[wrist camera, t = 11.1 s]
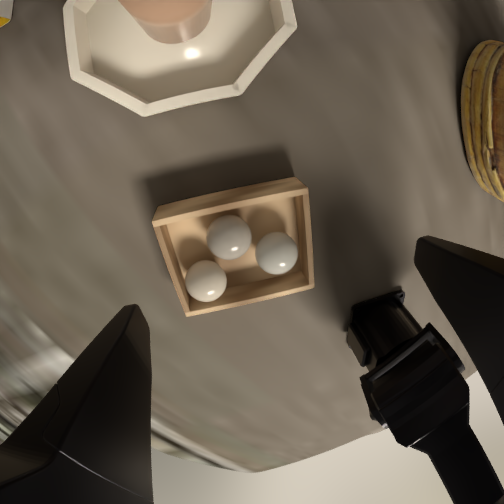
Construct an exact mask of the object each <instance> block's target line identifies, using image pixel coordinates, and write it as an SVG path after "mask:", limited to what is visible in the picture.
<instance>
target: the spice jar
mask: <svg viewBox="0 0 504 504" xmlns="http://www.w3.org/2000/svg"><path fill="white" fill-rule="evenodd" d="M118 1H119V2H120V3H121V4H122V5H123V7H124V8H125V9H126V10H127V11H128V12H129V13H130V15H131V16H132V17H133V18H134V19H135V20H136V22H137V23H138V24H139V25H140V26H141V27H142V29H143V30H144V31H145V32H146V33H147V35H148V36H149V37H151V38H152V39H154V40H155V41H158V42H161V43H165V44H177V43H182V42H186V41H188V40H191V39H193V38H194V37H196V36H197V35H199V34H200V33H201V32H202V31H203V30H204V29H205V28H206V26H207V24H208V22H209V20H210V17H211V8H212V0H118Z"/></svg>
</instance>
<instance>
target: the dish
mask: <svg viewBox="0 0 504 504" xmlns="http://www.w3.org/2000/svg"><path fill="white" fill-rule="evenodd" d="M63 16H64V29H65V39H66V48H67V56H68V63H69V70H70V76H71V78H72V80H74V81H76V82H78V83H80V84H82V85H84V86H86V87H88V88H90V89H92V90H94V91H96V92H98V93H100V94H102V95H104V96H105V97H107V98H109V99H111V100H113V101H115V102H117V103H119V104H121V105H123V106H124V107H126V108H128V109H130V110H132V111H134V112H135V113H137V114H139V115H141V116H143V117H144V116H145V117H147V116H151V115H155V114H159V113H162V112H166V111H170V110H174V109H178V108H182V107H186V106H190V105H195V104H199V103H204V102H208V101H213V100H218V99H224V98H229V97H235V96H239V95H241V94H242V93H243V92H244V91H245V89H246V88H247V87H248V86H249V84H250V83H251V82H252V80H253V79H254V78H255V77H256V75H257V74H258V73H259V72H260V70H261V69H262V68H263V67H264V66H265V64H266V63H267V62H268V61H269V60H270V58H271V57H272V56H273V55H274V54H275V52H276V51H277V50H278V49H279V48H280V47H281V46H282V44H283V43H284V42H285V41H286V40H287V39H288V38H289V36H290V35H291V34H292V33H293V32H294V31H295V30H296V29H297V28H296V27H297V23H296V18H295V13H294V8H293V4H292V0H212V8H211V17H210V20H209V22H208V24H207V26H206V28H205V29H204V30H203V31H202V32H201V33H200V34H199V35H197V36H196V37H194V38H193V39H191V40H188V41H186V42H182V43H177V44H165V43H161V42H158V41H155V40H154V39H152V38H151V37H149V36H148V35H147V33H146V32H145V31H144V30H143V29H142V27H141V26H140V25H139V24H138V23H137V22H136V20H135V19H134V18H133V17H132V16H131V15H130V13H129V12H128V11H127V10H126V9H125V8H124V7H123V5H122V4H121V3H120V2H119V1H118V0H67V2H66V3H65V5H64V7H63Z"/></svg>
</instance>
